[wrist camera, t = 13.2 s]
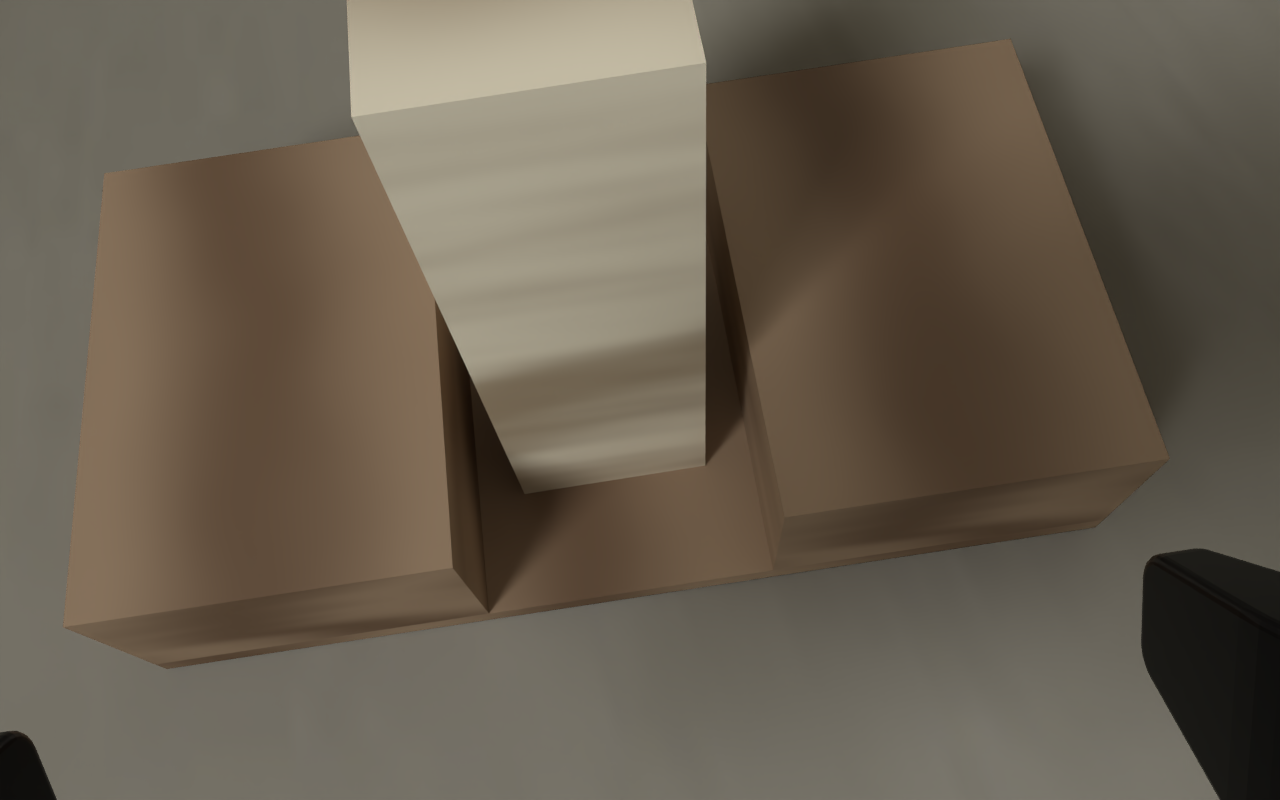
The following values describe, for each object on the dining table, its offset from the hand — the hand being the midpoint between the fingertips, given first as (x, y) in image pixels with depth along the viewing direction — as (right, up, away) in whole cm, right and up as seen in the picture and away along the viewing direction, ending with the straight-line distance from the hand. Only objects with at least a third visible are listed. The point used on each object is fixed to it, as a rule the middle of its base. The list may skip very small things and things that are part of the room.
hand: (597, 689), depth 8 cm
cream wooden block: (-1, +3, +16) cm, 16 cm away
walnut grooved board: (0, +3, +16) cm, 16 cm away
